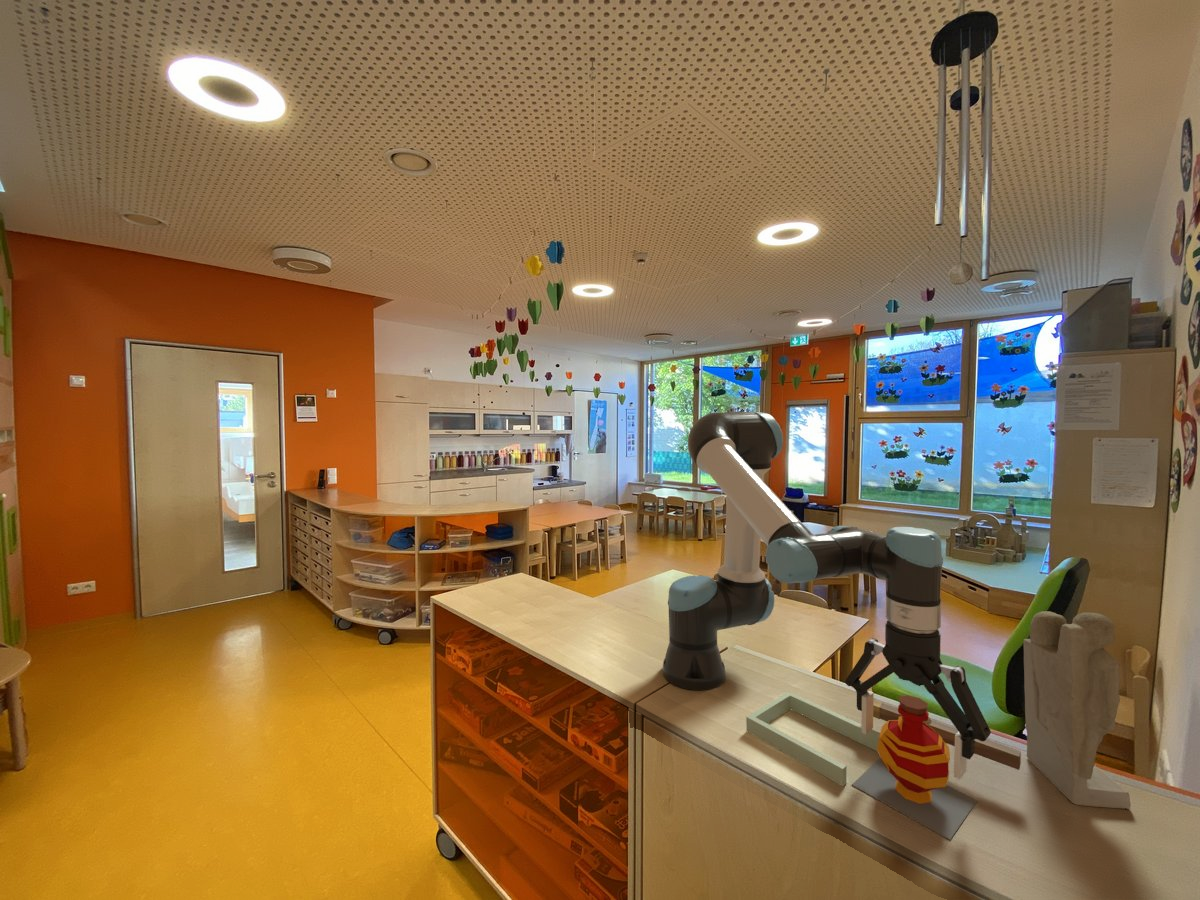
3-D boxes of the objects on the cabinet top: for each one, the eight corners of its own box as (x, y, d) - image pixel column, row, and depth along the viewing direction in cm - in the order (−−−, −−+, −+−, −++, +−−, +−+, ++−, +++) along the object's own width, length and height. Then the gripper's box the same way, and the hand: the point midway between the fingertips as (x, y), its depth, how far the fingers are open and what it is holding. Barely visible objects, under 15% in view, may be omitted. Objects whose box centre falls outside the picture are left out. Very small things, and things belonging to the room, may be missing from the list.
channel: (746, 731, 96) (746, 716, 96) (788, 704, 105) (788, 691, 105) (842, 786, 81) (842, 769, 81) (882, 749, 90) (882, 733, 89)
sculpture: (1148, 825, 71) (1150, 626, 70) (1083, 817, 73) (1085, 623, 72) (1071, 758, 86) (1073, 592, 85) (1019, 753, 88) (1019, 590, 87)
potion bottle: (895, 761, 86) (895, 679, 86) (963, 797, 77) (963, 706, 77) (863, 785, 81) (863, 698, 80) (932, 827, 72) (932, 729, 71)
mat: (851, 785, 81) (851, 784, 81) (883, 755, 88) (883, 754, 88) (950, 840, 70) (950, 839, 70) (977, 800, 77) (977, 799, 77)
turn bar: (1018, 773, 76) (1018, 759, 76) (860, 715, 93) (860, 702, 92) (1021, 761, 79) (1021, 747, 79) (867, 706, 95) (867, 694, 95)
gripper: (825, 607, 86) (824, 722, 87) (1003, 661, 66) (999, 809, 67) (846, 597, 90) (845, 707, 91) (1018, 644, 70) (1014, 784, 71)
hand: (910, 750), depth 79 cm, fingers open, 13 cm apart
